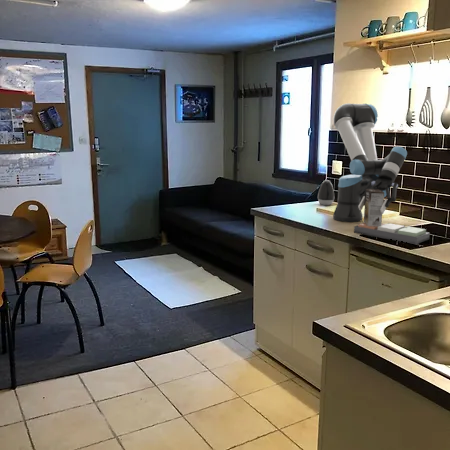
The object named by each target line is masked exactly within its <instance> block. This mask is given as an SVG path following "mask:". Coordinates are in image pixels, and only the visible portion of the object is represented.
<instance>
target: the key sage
mask: <svg viewBox="0 0 450 450" xmlns="http://www.w3.org/2000/svg"><path fill="white" fill-rule="evenodd" d="M426 232H427V228H426V229H425V228H420V227H413V226H405V228H403V229H400V230H398V234H403V235H408V236H414V237H417V236H420V235H422V234H425V233H426Z"/></svg>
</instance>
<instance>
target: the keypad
mask: <svg viewBox="0 0 450 450" xmlns="http://www.w3.org/2000/svg"><path fill="white" fill-rule="evenodd" d="M358 225H359V224H357V225H355V226H354V227H353V229H354V230H353V233H354V234H360V235H365V236H370V237H375V238H381V239H385V240H390V239H392V241H396V240H398V241H397V242H401V241H403V243H406V242H407V243H408V244H413V245H419V244H421V243H424V242H427V241H428V240H430V236H431V235H430V234H431V233H430V232H428V231H426V233H425V234H422V235H420V236H417V237H414V236H408V235H403V234H398V232H396V233H392V232H386V231H380V230H377V229H369V228H363V227H358Z"/></svg>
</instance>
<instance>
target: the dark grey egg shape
mask: <svg viewBox="0 0 450 450" xmlns="http://www.w3.org/2000/svg"><path fill="white" fill-rule="evenodd" d="M317 200H318V203H319V204H320V205H322V206H331V205H332V204H333V202H334V201H335V191H334V187H333V184H332V182H331V180H328V179H325V180H323V182H322V183H321V185H320V187H319V189H318V193H317Z"/></svg>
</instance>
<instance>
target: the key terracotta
mask: <svg viewBox="0 0 450 450" xmlns="http://www.w3.org/2000/svg"><path fill="white" fill-rule="evenodd" d="M385 224H386V223H382V222H381V225H385ZM357 225H358V227H363V228H369V229H378V226H367V225H366V224H365V223H364V222H362V223H358V224H357Z"/></svg>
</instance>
